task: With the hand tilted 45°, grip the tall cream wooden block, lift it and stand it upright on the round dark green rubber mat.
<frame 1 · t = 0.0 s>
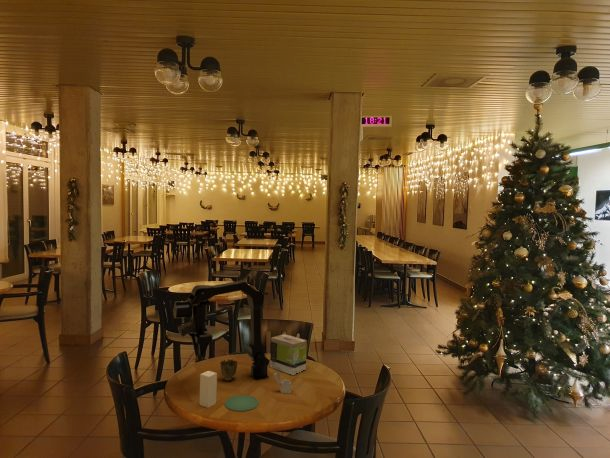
hand: (198, 352, 181), 15 cm above the table, tool pointing down, fingers open, 9 cm apart
tea box: (287, 369, 206), on the table
lighter: (282, 392, 180), on the table
green mat: (241, 403, 168), on the table
cream block: (207, 404, 166), on the table
dark grey rounded piece: (228, 380, 190), on the table
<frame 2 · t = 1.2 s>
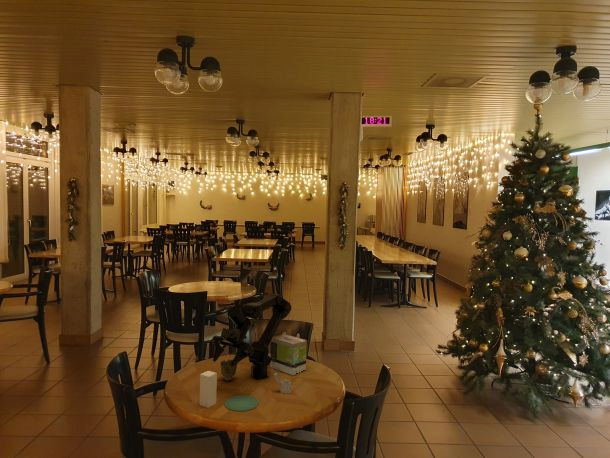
hand: (222, 363, 173), 13 cm above the table, tool tilted 45°, fingers open, 9 cm apart
nothing on the table moved.
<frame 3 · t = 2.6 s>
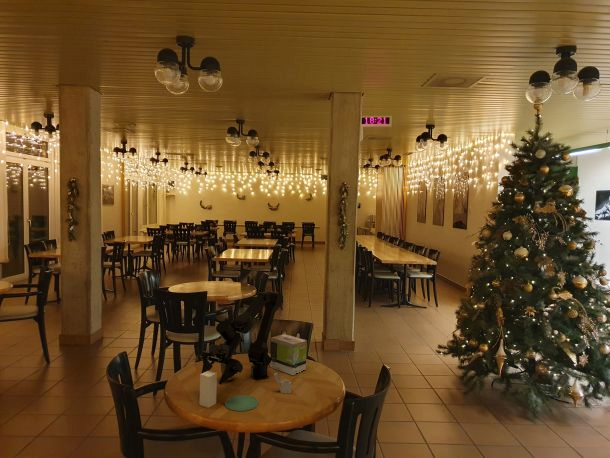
hand: (210, 381, 167), 9 cm above the table, tool tilted 45°, fingers open, 9 cm apart
nothing on the table moved.
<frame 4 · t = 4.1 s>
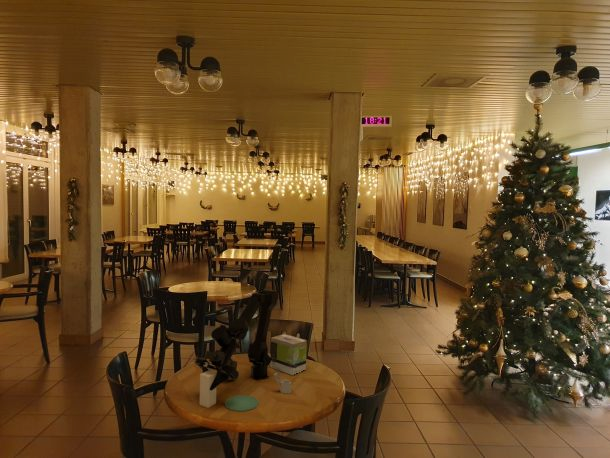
hand: (205, 388, 165), 7 cm above the table, tool tilted 45°, fingers closed on cream block, 4 cm apart
cream block: (207, 404, 166), on the table, touching gripper
everything else where it was.
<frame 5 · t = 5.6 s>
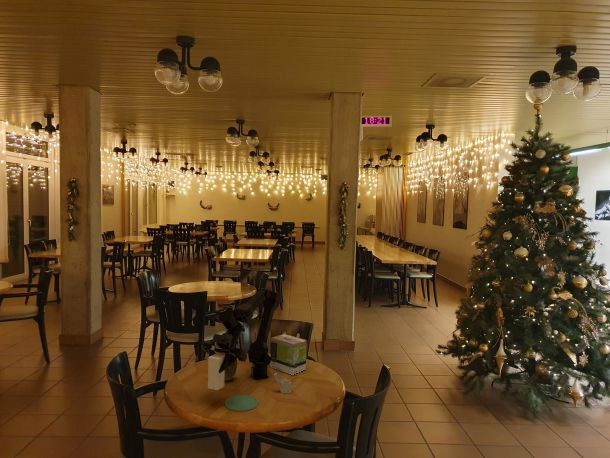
hand: (214, 371, 165), 13 cm above the table, tool tilted 45°, fingers closed on cream block, 4 cm apart
cream block: (216, 387, 166), point 7 cm above the table, touching gripper
everything else where it was.
when the fingers open (8 cm above the table, at t = 7.6 s): cream block drops 1 cm, resting on green mat.
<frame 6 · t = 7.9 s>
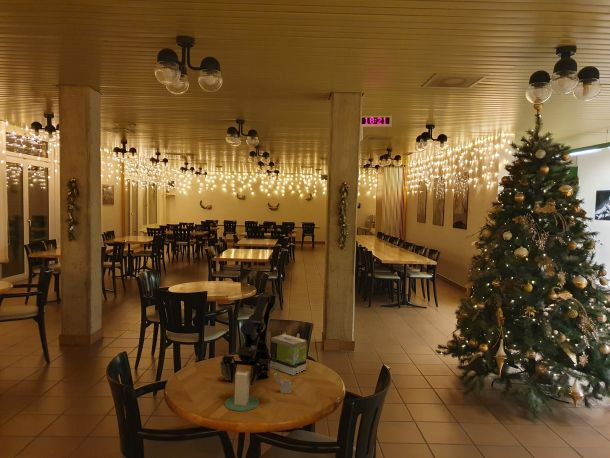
hand: (241, 383, 166), 8 cm above the table, tool tilted 45°, fingers open, 7 cm apart
cream block: (241, 402, 168), resting on green mat
everything else where it was.
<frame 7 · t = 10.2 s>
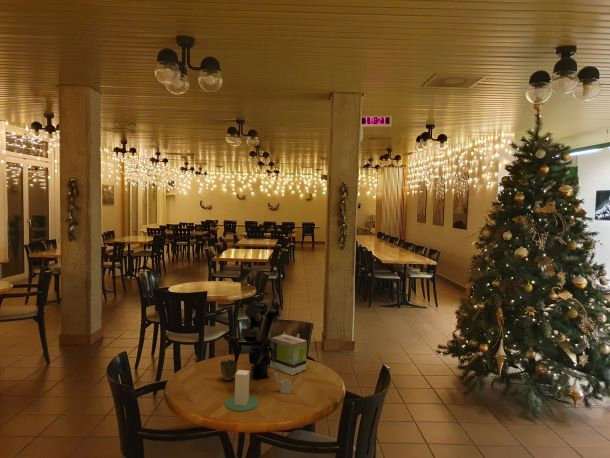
hand: (246, 363, 174), 13 cm above the table, tool tilted 40°, fingers open, 9 cm apart
nothing on the table moved.
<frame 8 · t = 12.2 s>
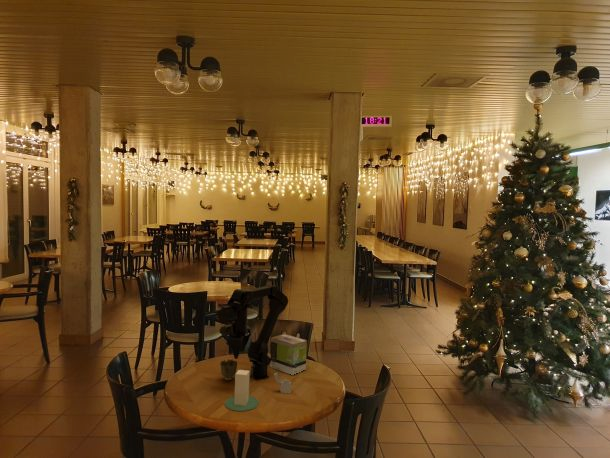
hand: (239, 355, 185), 13 cm above the table, tool pointing down, fingers open, 9 cm apart
nothing on the table moved.
at the end: cream block inside the target area on the green mat (0.1 cm from its centre), point 0.4 cm above the green mat's base; cream block tilted 0°; the gripper is holding nothing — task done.
